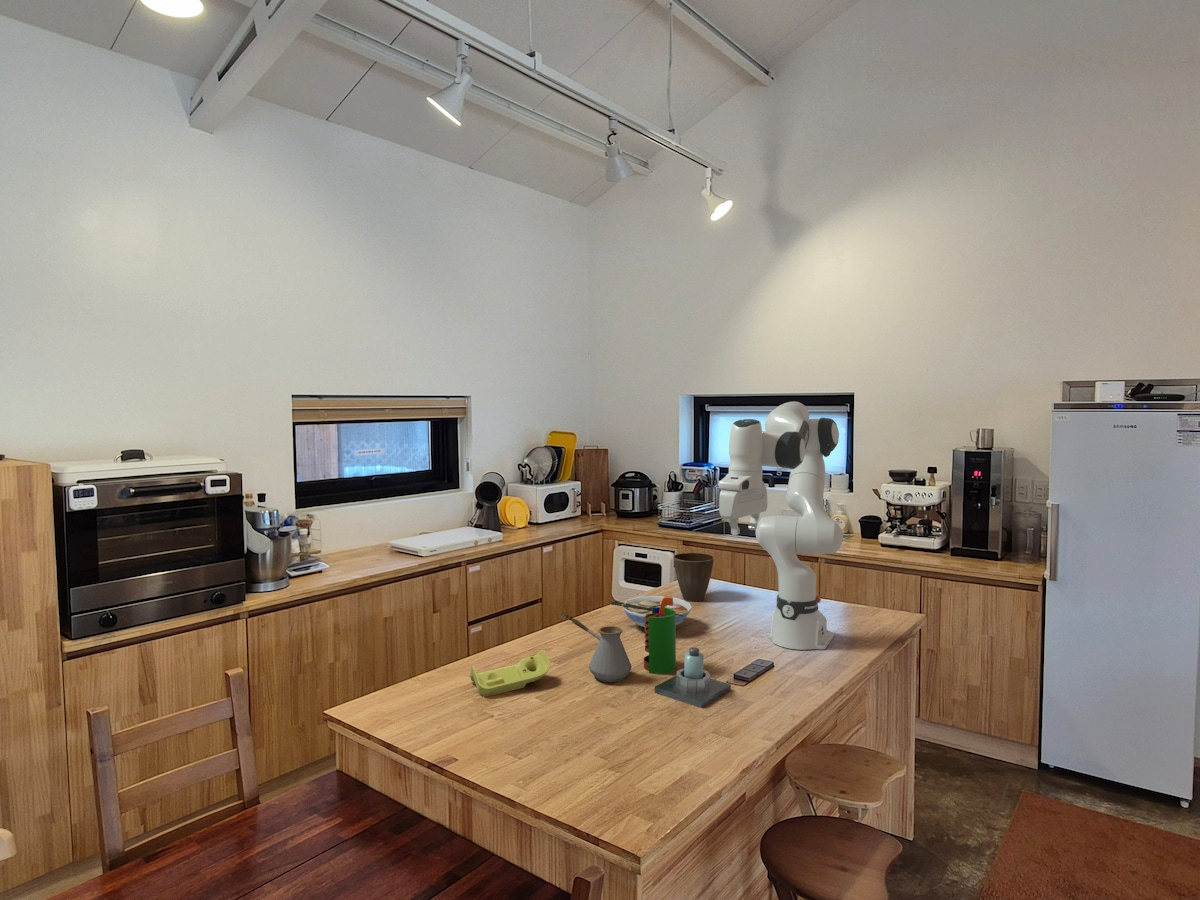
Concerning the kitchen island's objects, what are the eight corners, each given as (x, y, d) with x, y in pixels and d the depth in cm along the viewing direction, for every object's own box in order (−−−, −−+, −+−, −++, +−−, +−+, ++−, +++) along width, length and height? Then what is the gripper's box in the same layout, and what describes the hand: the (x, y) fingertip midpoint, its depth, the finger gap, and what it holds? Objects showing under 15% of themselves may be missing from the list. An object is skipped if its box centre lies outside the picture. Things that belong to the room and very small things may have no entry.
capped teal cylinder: (690, 680, 186) (691, 644, 185) (706, 685, 183) (707, 648, 182) (680, 685, 182) (681, 649, 182) (696, 690, 179) (697, 653, 179)
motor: (641, 661, 204) (641, 592, 202) (672, 660, 204) (672, 591, 203) (646, 674, 194) (647, 602, 192) (679, 673, 194) (679, 601, 193)
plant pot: (671, 603, 261) (672, 560, 260) (674, 592, 276) (674, 551, 275) (712, 605, 259) (713, 562, 258) (713, 594, 273) (714, 553, 272)
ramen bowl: (706, 624, 237) (706, 600, 236) (675, 644, 218) (675, 618, 217) (640, 612, 250) (640, 589, 250) (605, 630, 231) (605, 605, 230)
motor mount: (684, 676, 193) (685, 660, 192) (730, 690, 184) (731, 673, 183) (654, 692, 182) (654, 675, 182) (701, 707, 173) (701, 689, 173)
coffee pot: (639, 674, 194) (639, 620, 193) (617, 688, 184) (618, 631, 183) (573, 658, 205) (573, 607, 204) (550, 671, 195) (550, 618, 194)
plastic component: (481, 690, 177) (470, 661, 185) (479, 711, 181) (469, 681, 188) (555, 672, 185) (542, 645, 193) (552, 692, 189) (539, 664, 197)
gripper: (753, 476, 200) (752, 525, 201) (715, 482, 184) (714, 535, 185) (773, 478, 196) (772, 528, 197) (737, 484, 180) (735, 539, 181)
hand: (744, 532), depth 191 cm, fingers open, 8 cm apart
